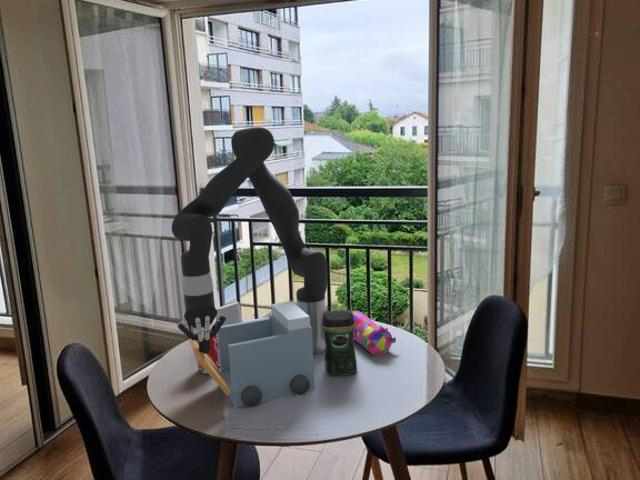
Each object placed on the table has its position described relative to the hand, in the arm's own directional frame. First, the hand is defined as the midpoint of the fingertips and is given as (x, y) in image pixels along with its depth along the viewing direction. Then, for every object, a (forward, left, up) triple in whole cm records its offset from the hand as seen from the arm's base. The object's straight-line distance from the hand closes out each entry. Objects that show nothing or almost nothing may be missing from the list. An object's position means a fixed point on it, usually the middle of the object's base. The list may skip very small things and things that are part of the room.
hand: (204, 352), depth 138 cm
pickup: (-16, 0, -13) cm, 20 cm away
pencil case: (-55, -13, -14) cm, 58 cm away
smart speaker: (-15, -38, -14) cm, 43 cm away
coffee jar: (-39, +1, -14) cm, 41 cm away
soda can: (-4, -18, -14) cm, 23 cm away
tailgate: (-4, 0, -9) cm, 10 cm away
